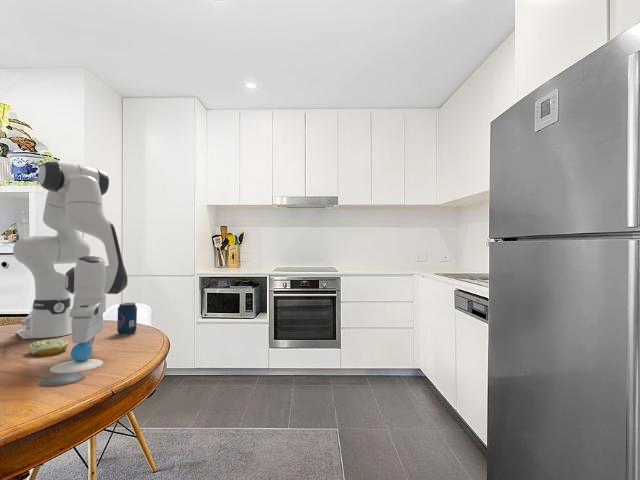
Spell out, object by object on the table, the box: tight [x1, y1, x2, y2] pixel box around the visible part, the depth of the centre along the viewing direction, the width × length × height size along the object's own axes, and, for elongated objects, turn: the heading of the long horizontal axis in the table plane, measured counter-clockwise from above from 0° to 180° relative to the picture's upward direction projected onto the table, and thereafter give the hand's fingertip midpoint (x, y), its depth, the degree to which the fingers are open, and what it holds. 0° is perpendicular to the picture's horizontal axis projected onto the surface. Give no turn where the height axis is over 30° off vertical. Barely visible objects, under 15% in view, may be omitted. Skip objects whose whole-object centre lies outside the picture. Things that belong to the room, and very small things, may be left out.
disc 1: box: [38, 372, 86, 388], centre depth 97 cm, size 10×10×1 cm
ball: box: [70, 343, 93, 362], centre depth 114 cm, size 6×6×6 cm
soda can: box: [116, 302, 138, 336], centre depth 152 cm, size 7×7×12 cm
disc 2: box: [49, 358, 104, 374], centre depth 109 cm, size 13×13×1 cm
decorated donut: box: [28, 338, 69, 357], centre depth 123 cm, size 10×11×4 cm
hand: (88, 350), depth 119 cm, fingers closed
